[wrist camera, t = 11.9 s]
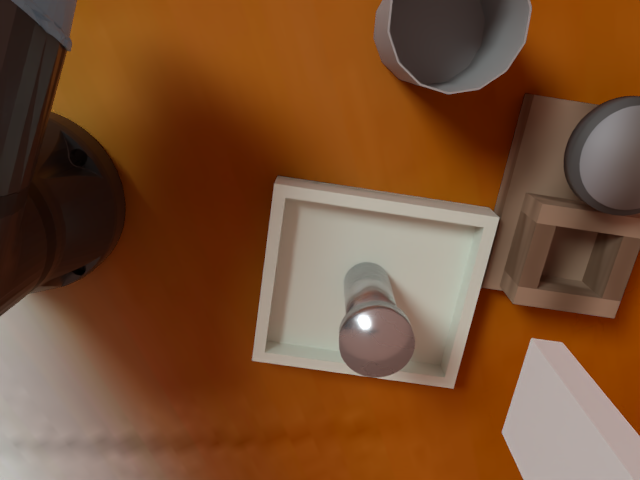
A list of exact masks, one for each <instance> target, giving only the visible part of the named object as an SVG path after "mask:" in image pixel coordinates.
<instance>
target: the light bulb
mask: <svg viewBox="0 0 640 480" xmlns="http://www.w3.org/2000/svg"><path fill="white" fill-rule="evenodd" d="M344 298H345V313H346V315H345V316H344V318H343V319H342V321H341V324H340V327H339V350H340V354H341V357H342V359H343V361H344V362H345V363H346V365H347V366H348V367H349V368H350V369H352V370H353V371H355V372H356V373H358V374H360V375H363V376H367V377H374V378H377V377H385V376H389V375H392V374H394V373H396V372H398V371H399V370H401V369H402V368H403V367H405V366H406V364H407V363H408V362H409V361H410V359H411V357H412V355H413V353H414V349H415V337H414V334H413V330H412V327H411V324H410V321H409V319H408V317H407V316H406V314H405V313H404V312H403V311H402V310H401V309H400V308H398V307H397V305H396V301H395V298H394V294H393V291H392V287H391V283H390V280H389V276H388V274H387V272H386V271H385V270H384V269H383V268H382V267H381V266H380V265H378V264H375V263H371V262H363V263H359V264H356V265H355V266H353V267H352V268H350V269H349V271H348V272H347V273H346V275H345V278H344Z"/></svg>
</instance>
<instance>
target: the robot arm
mask: <svg viewBox="0 0 640 480" xmlns="http://www.w3.org/2000/svg"><path fill="white" fill-rule="evenodd" d="M76 2H77V0H0V316H1V315H3V314H4V313H5V312H6V311H8V310H9V309H10V308H11V307H13V306H14V305H15V304H16V303H18V302H19V301H20V300H21V299H23V298H24V297H25V296H26V295H27V294H29V293H34V292H39V291H44V290H49V289H54V288H58V287H62V286H65V285H68V284H71V283H73V282H75V281H77V280H79V279H81V278H83V277H84V276H86V275H87V274H89V273H90V272H91V271H93V270H94V269H95V268H96V267H97V266H98V265H99V264H100V263H102V262H103V261H104V260H105V259H106V258H107V257H108V256H109V254H110V253H111V252H112V250H113V249H114V247H115V246H116V244H117V242H118V240H119V238H120V235H121V232H122V229H123V225H124V219H125V198H124V192H123V187H122V184H121V180H120V178H119V175H118V173H117V170H116V168H115V166H114V164H113V163H112V161H111V159H110V158H109V156H108V155H107V153H106V152H105V150H104V149H103V148H102V147H101V146H100V144H99V143H98V142H97V141H96V140H95V139H94V138H93V137H92V136H91V135H90V134H89V133H87V132H86V131H85V130H84V129H82V128H81V127H80V126H78V125H77V124H75V123H74V122H72V121H70V120H68V119H66V118H64V117H62V116H60V115H58V114H55V113H53V112H51V109H52V105H53V101H54V97H55V94H56V90H57V86H58V83H59V79H60V75H61V71H62V68H63V64H64V60H65V56H66V53H67V51H71V47H72V42H71V40H70V38H69V36H70V31H71V27H72V22H73V17H74V12H75V7H76ZM502 434H503V436H504V438H505V441H506V443H507V445H508V447H509V449H510V451H511V454H512V456H513V458H514V460H515V462H516V464H517V467H518V469H519V471H520V473H521V475H522V477H523V480H640V436H639V435H638V434H637V433H636V431H635V430H634V429H633V428H632V426H631V425H630V424H629V423H628V422H627V420H626V419H625V418H624V417H623V416H622V414H621V413H620V412H619V411H618V409H617V408H616V407H615V406H614V405H613V403H612V402H611V401H610V400H609V399H608V397H607V396H606V395H605V394H604V392H603V391H602V390H601V389H600V388H599V386H598V385H597V384H596V383H595V382H594V380H593V379H592V378H591V377H590V375H589V374H588V373H587V372H586V371H585V369H584V368H583V367H582V366H581V364H580V363H579V362H578V361H577V360H576V358H575V357H574V356H573V355H572V354H571V352H570V351H569V350H568V349H567V347H566V346H565V345H564V344H563V343H562V342H555V341H548V340H541V339H534V338H531V341H530V344H529V347H528V350H527V353H526V357H525V360H524V363H523V366H522V369H521V373H520V376H519V379H518V382H517V385H516V389H515V392H514V395H513V398H512V401H511V405H510V408H509V411H508V414H507V417H506V420H505V424H504V427H503V430H502Z"/></svg>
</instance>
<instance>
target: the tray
mask: <svg viewBox="0 0 640 480" xmlns="http://www.w3.org/2000/svg"><path fill="white" fill-rule="evenodd" d="M499 218H500V217H499V216H497V215H496V214H495V213H494V212H493V211H492V210H491V209H490V208H489V207H482V206H476V205H469V204H462V203H456V202H449V201H443V200H436V199H429V198H423V197H416V196H409V195H403V194H396V193H390V192H383V191H376V190H370V189H363V188H356V187H350V186H343V185H337V184H330V183H323V182H317V181H310V180H304V179H297V178H290V177H284V176H277V178H276V180H275V183H274V189H273V197H272V205H271V213H270V221H269V229H268V237H267V245H266V253H265V261H264V269H263V277H262V284H261V292H260V300H259V308H258V316H257V324H256V332H255V340H254V348H253V356H252V361H258V362H265V363H272V364H279V365H286V366H294V367H301V368H308V369H315V370H322V371H330V372H337V373H344V374H351V375H358V376H363V375H360V374H358V373H356V372H355V371H353V370H352V369H350V368H349V367H348V366H347V365H346V363H345V362H344V361H343V359H342V357H341V354H340V350H339V327H340V324H341V321H342V319H343V318H344V316H345V315H346V313H345V298H344V278H345V275H346V273H347V272H348V271H349V269H350V268H352V267H353V266H355V265H356V264H359V263H363V262H371V263H375V264H378V265H380V266H381V267H382V268H383V269H384V270H385V271H386V272H387V274H388V276H389V280H390V283H391V287H392V291H393V294H394V298H395V301H396V305H397V307H398V308H400V309H401V310H402V311H403V312H404V313H405V314H406V316H407V317H408V319H409V321H410V324H411V327H412V330H413V334H414V337H415V349H414V353H413V355H412V357H411V359H410V361H409V362H408V363H407V364H406V366H405V367H403V368H402V369H401V370H399V371H398V372H396V373H394V374H392V375H389V376H385V377H377V378H380V379H387V380H394V381H401V382H409V383H416V384H423V385H430V386H437V387H445V388H452V389H454V385H455V381H456V378H457V374H458V370H459V366H460V363H461V359H462V355H463V352H464V348H465V344H466V340H467V337H468V333H469V329H470V326H471V322H472V318H473V314H474V311H475V307H476V303H477V300H478V296H479V292H480V288H481V285H482V281H483V277H484V274H485V270H486V266H487V263H488V259H489V255H490V251H491V248H492V244H493V240H494V237H495V233H496V229H497V225H498V222H499ZM365 377H367V376H365ZM373 378H374V377H373Z"/></svg>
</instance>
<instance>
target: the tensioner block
mask: <svg viewBox="0 0 640 480" xmlns="http://www.w3.org/2000/svg"><path fill="white" fill-rule="evenodd" d="M494 213H495V214H496V215H497V216H499V217H500V218H499V222H498V225H497V229H496V233H495V237H494V240H493V244H492V248H491V251H490V255H489V259H488V263H487V266H486V270H485V274H484V277H483V281H482V285H481V287H482V288H487V289H494V290H501V291H504V292H505V294H506V295H507V296H508V298H509V299H510V300H511V302H512V303H513V304H518V305H525V306H532V307H539V308H546V309H553V310H559V311H566V312H573V313H580V314H587V315H594V316H601V317H608V318H615V315H616V313H617V310H618V307H619V304H620V302H621V299H622V296H623V293H624V291H625V288H626V285H627V282H628V280H629V277H630V274H631V271H632V269H633V266H634V263H635V260H636V258H637V255H638V252H639V250H640V96H624V97H619V98H615V99H612V100H609V101H607V102H604V103H602V104H601V105H595V104H589V103H583V102H576V101H570V100H564V99H558V98H551V97H545V96H539V95H532V94H526V93H525V96H524V100H523V103H522V107H521V111H520V115H519V118H518V122H517V126H516V130H515V134H514V137H513V141H512V145H511V149H510V152H509V156H508V160H507V164H506V168H505V171H504V175H503V179H502V183H501V186H500V190H499V194H498V198H497V202H496V205H495V209H494Z"/></svg>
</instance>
